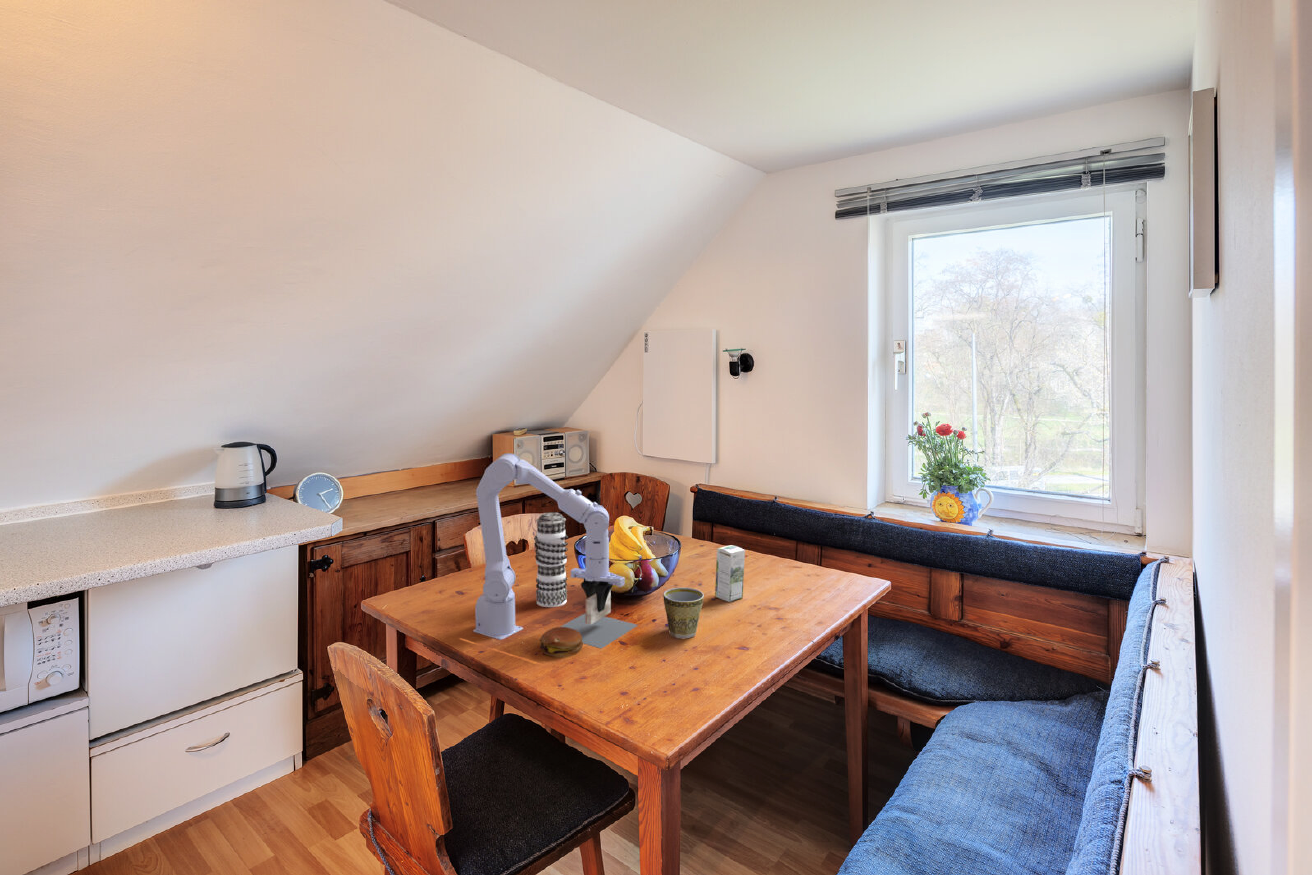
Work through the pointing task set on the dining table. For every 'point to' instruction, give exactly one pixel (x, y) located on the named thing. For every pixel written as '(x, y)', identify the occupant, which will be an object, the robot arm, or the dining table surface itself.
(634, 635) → the dining table surface
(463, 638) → the dining table surface
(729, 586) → the syrup box
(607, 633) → the mat
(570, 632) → the burger
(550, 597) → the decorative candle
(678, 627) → the ceramic cup
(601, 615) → the tile
